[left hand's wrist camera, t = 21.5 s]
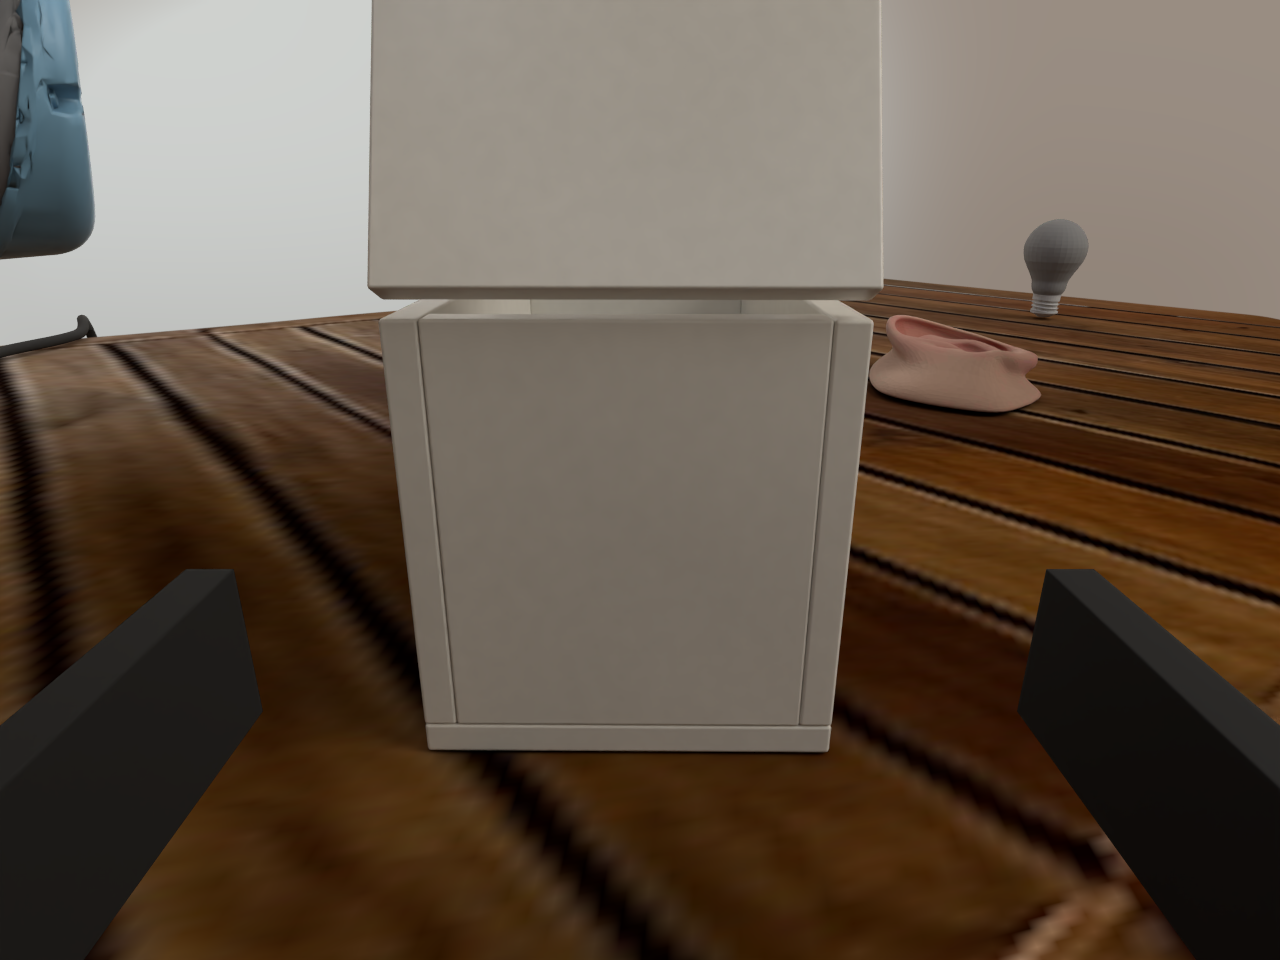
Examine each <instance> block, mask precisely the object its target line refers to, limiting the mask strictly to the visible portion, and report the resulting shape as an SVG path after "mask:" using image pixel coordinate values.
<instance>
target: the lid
mask: <svg viewBox="0 0 1280 960" xmlns="http://www.w3.org/2000/svg"><path fill="white" fill-rule="evenodd" d="M881 22H882V21H881V0H372V30H371V94H370V157H369V158H370V159H369V220H368V221H369V222H368V284H367V285H368V288H369V289H370V290H371V291H373V292H374V293H375V294H376V295H378V296H379V297H380V298H382V299H459V300H871V299H872V298H873V297H874V296H875V295H877V294H878V293H879V292H880V291H881V290H882V289H883V165H882V25H881V24H882V23H881Z"/></svg>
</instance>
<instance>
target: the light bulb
mask: <svg viewBox="0 0 1280 960" xmlns="http://www.w3.org/2000/svg"><path fill="white" fill-rule="evenodd" d="M1087 252H1088V239H1087V237H1086V234H1085V232H1084V231H1083V230H1082V228H1081V227H1080V226H1079V225H1078V224H1076V223H1074V222H1072V221H1068V220H1064V219H1057V220H1052V221H1048V222H1046V223H1043V224H1042V225H1040V226H1039V227H1038V228H1036V229H1035V230H1034V231H1033V232H1032V233H1031V234H1030V236H1029V237H1028V239H1027V241H1026V243H1025V246H1024V259H1025V262H1026V265H1027V268H1028V270H1029V272H1030V275H1031V278H1032V290H1033V299H1034V300H1033V301H1032V302H1033V303H1034V304H1032V306H1033V308H1031V312H1032V313H1034V314H1035V315H1036V316H1038V317H1050V316H1052V315H1054V314H1057V313H1058V311H1056V309H1058V308H1057V305H1059V304H1058V301H1060V297H1061V294H1062V293H1063V292H1064V291H1065V289H1066V286H1067V283H1068V281H1069V279H1070V278H1071V276H1072V275H1073V274H1074V272H1075V271H1076V270H1077V269H1078V268H1079V266H1080V265H1081V264H1082V263H1083V261H1084V259H1085V257H1086V255H1087Z"/></svg>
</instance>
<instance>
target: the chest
mask: <svg viewBox="0 0 1280 960" xmlns="http://www.w3.org/2000/svg"><path fill="white" fill-rule="evenodd" d="M873 325H874V324H873V321H872V320H871V319H869V318H867V317H865V316H864V315H862V314H860V313H859V312H857V311H855V310H854V309H852V308H850V307H848V306H847V305H845V304H843V303H842V302H840V301H838V300H459V299H420V300H418V301H417V302H414V303H412V304H410V305H408V306H406V307H404V308H402V309H400V310H398V311H396V312H394V313H392V314H390V315H388V316H386V317H384V318H382V319H380V320H379V331H380V339H381V348H382V356H383V365H384V374H385V382H386V391H387V399H388V408H389V416H390V425H391V434H392V442H393V451H394V459H395V468H396V476H397V485H398V494H399V502H400V511H401V519H402V528H403V537H404V545H405V554H406V562H407V571H408V579H409V588H410V597H411V605H412V614H413V622H414V631H415V639H416V648H417V657H418V665H419V674H420V682H421V691H422V699H423V708H424V717H425V722H426V733H427V742H428V748H429V749H430V750H532V751H702V752H828V749H829V741H830V732H831V727H830V725H831V722H832V713H833V703H834V694H835V684H836V675H837V666H838V656H839V647H840V637H841V628H842V618H843V609H844V599H845V590H846V580H847V571H848V561H849V552H850V542H851V533H852V523H853V514H854V505H855V495H856V486H857V476H858V467H859V457H860V448H861V438H862V429H863V419H864V410H865V400H866V391H867V381H868V372H869V362H870V353H871V344H872V334H873Z"/></svg>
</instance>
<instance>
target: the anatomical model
mask: <svg viewBox="0 0 1280 960" xmlns="http://www.w3.org/2000/svg"><path fill="white" fill-rule="evenodd" d="M886 332H887V336H888V338H889V340H890V342H891V344H892V346H893V348H892V350H891V351H890V352H889V353H887V354H886V355H884V356H883V357H881V358H880V359H879V360H878V361H876V362H875V363H874V364H873V366H872V367H871V369H870V373H869V377H870V381H871V383H872V385H873V386H874V387H875V388H876V389H877V390H878V391H880V392H882V393H884V394H886V395H889V396H893V397H896V398H900V399H904V400H908V401H913V402H918V403H923V404H929V405H935V406H941V407H948V408H954V409H961V410H969V411H978V412H1006V411H1011V410H1015V409H1018V408H1021V407H1024V406H1026V405H1029V404H1031V403H1033V402H1035V401H1036V400H1037V399H1039V398H1040V396H1041V394H1040V392H1039V390H1038V389H1037V388H1036V387H1034V386H1033V385H1032V384H1031V383H1030V382H1029V381H1028V380H1027V379H1026V377H1025V374H1026V373H1027V372H1028V371H1030V370H1031V369H1033V368H1034V367H1035V366H1036V364H1037V361H1038V358H1037V355H1036V354H1034V353H1032V352H1029V351H1026V350H1023V349H1020V348H1017V347H1014V346H1010V345H1007V344H1004V343H1001V342H999V341H996V340H993V339H990V338H987V337H984V336H981V335H978V334H974V333H971V332H967V331H963V330H960V329H956V328H953V327H949V326H946V325H943V324H939V323H936V322H932V321H928V320H925V319H921V318H917V317H912V316H905V315H896V316H892V317H891V318H890V319H889V320H888V321H887V324H886Z"/></svg>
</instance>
